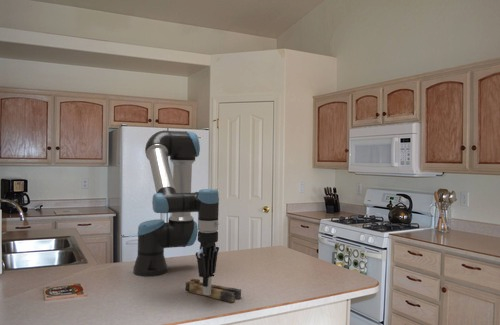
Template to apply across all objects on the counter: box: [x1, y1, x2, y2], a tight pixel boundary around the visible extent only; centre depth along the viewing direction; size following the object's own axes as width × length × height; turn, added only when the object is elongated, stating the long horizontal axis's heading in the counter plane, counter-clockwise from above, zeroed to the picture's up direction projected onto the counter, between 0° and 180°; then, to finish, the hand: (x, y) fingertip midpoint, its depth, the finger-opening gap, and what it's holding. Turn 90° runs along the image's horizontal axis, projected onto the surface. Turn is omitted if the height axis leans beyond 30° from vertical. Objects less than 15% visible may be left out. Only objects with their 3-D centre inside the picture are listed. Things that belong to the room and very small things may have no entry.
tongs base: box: [185, 278, 242, 300], centre depth 154 cm, size 23×4×4 cm, turn 63°
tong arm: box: [185, 279, 236, 303], centre depth 151 cm, size 22×2×4 cm, turn 58°
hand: (207, 294), depth 148 cm, fingers closed
